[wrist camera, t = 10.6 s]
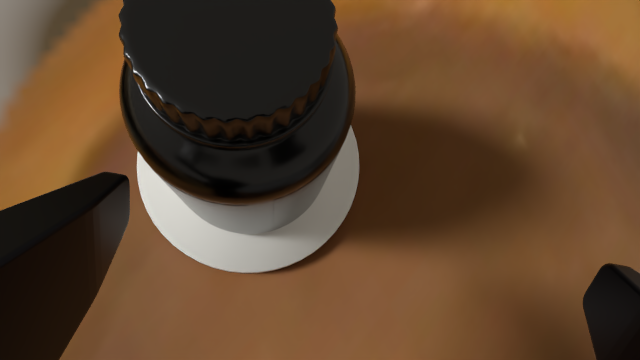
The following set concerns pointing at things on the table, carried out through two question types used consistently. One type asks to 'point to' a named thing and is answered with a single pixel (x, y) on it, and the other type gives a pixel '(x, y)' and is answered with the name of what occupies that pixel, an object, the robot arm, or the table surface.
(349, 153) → the coaster
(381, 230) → the table surface
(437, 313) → the table surface
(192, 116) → the supplement bottle
